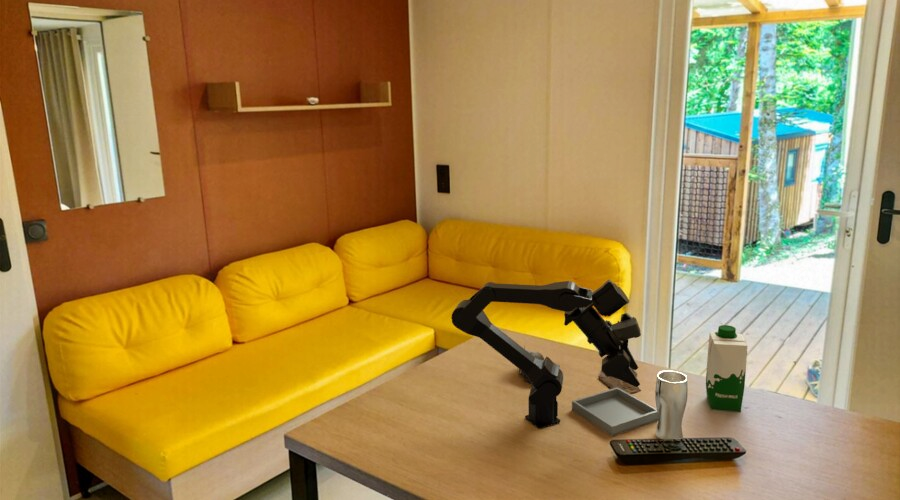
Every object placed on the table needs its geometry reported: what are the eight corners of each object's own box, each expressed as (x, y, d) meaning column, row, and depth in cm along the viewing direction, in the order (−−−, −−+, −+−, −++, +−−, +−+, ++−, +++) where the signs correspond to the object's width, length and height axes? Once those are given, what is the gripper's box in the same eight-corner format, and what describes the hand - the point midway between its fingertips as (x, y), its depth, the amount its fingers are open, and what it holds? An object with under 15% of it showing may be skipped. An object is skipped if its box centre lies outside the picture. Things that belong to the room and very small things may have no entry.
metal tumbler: (660, 425, 152) (662, 367, 149) (689, 434, 148) (692, 374, 145) (648, 437, 147) (651, 378, 144) (678, 446, 143) (681, 385, 139)
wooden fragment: (642, 398, 167) (642, 394, 166) (599, 396, 169) (599, 392, 168) (633, 359, 191) (633, 356, 191) (596, 357, 193) (596, 354, 193)
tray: (612, 436, 148) (612, 426, 148) (571, 410, 161) (572, 401, 161) (659, 420, 155) (659, 410, 154) (617, 395, 168) (617, 387, 167)
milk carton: (738, 397, 164) (744, 325, 160) (745, 414, 156) (751, 338, 151) (702, 395, 167) (707, 323, 162) (707, 411, 158) (712, 336, 153)
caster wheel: (548, 393, 176) (513, 385, 178) (554, 369, 186) (520, 362, 188) (551, 374, 173) (515, 366, 175) (557, 351, 182) (523, 344, 185)
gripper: (623, 321, 136) (669, 375, 137) (621, 294, 154) (662, 342, 154) (582, 349, 140) (628, 402, 140) (585, 321, 158) (625, 368, 158)
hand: (637, 377), depth 148 cm, fingers open, 9 cm apart
